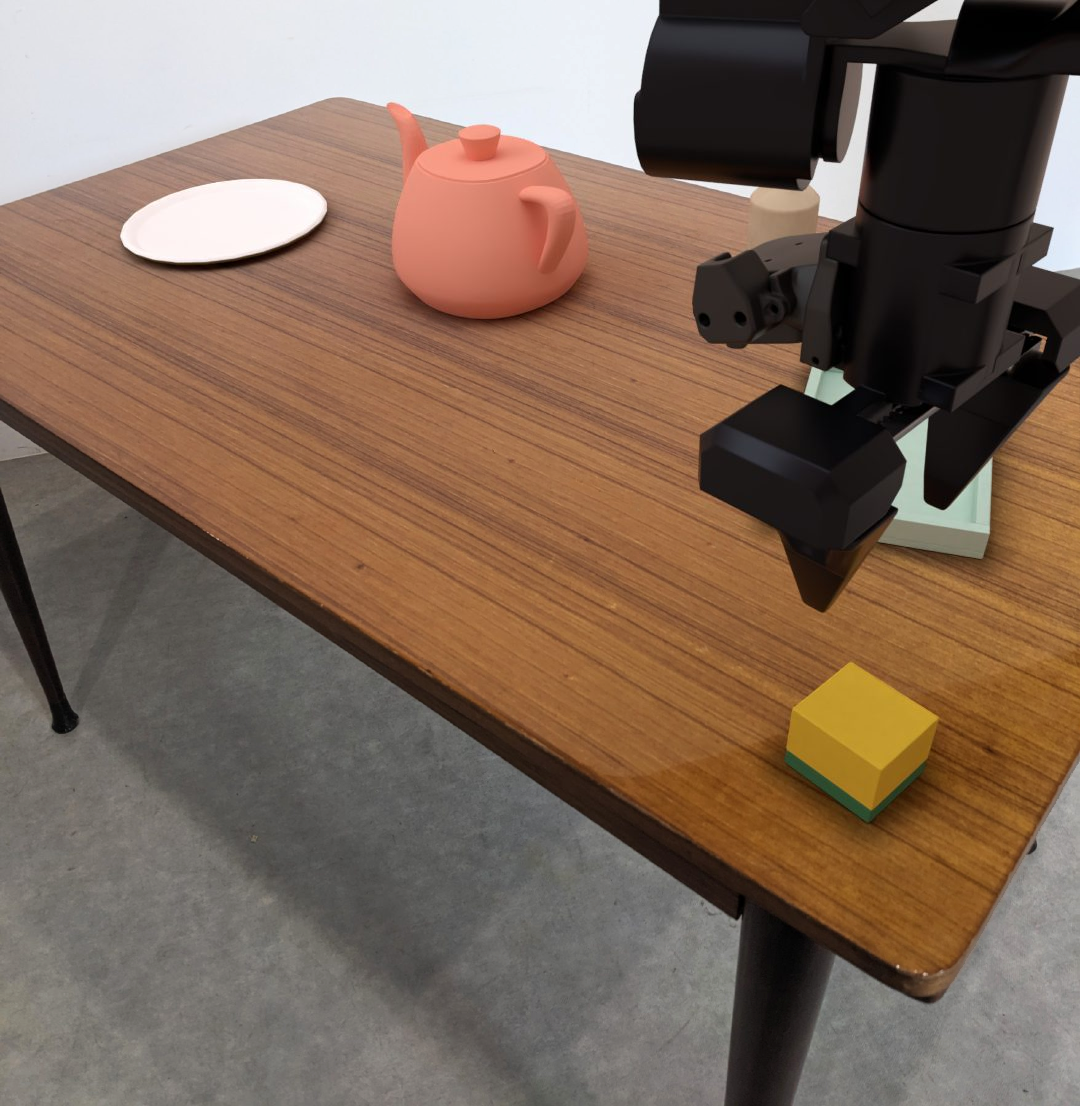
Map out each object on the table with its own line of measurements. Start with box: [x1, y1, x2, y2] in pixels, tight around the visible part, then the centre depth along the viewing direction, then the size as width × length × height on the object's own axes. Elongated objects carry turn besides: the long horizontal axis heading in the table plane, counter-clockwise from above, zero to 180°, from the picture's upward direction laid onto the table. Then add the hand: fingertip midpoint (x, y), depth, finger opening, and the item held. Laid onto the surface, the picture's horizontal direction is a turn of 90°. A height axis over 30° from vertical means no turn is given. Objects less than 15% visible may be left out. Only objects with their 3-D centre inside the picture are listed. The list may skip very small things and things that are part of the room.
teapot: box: [385, 101, 590, 320], centre depth 91 cm, size 25×17×13 cm
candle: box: [745, 184, 821, 251], centre depth 87 cm, size 6×6×10 cm
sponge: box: [784, 661, 940, 824], centre depth 50 cm, size 5×4×4 cm
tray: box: [803, 366, 994, 560], centre depth 71 cm, size 20×13×2 cm, turn 161°
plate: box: [119, 178, 328, 266], centre depth 107 cm, size 21×21×1 cm
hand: (878, 553), depth 45 cm, fingers open, 9 cm apart
